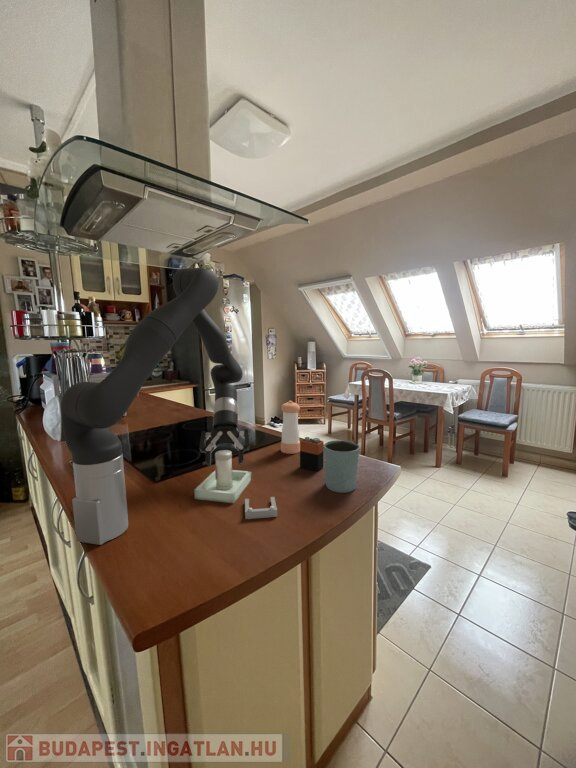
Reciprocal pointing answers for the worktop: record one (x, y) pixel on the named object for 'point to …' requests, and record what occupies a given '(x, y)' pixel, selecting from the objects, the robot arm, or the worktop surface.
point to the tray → (211, 493)
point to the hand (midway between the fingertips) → (224, 464)
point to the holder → (260, 511)
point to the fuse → (223, 470)
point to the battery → (311, 453)
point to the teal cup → (341, 465)
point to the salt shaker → (290, 428)
